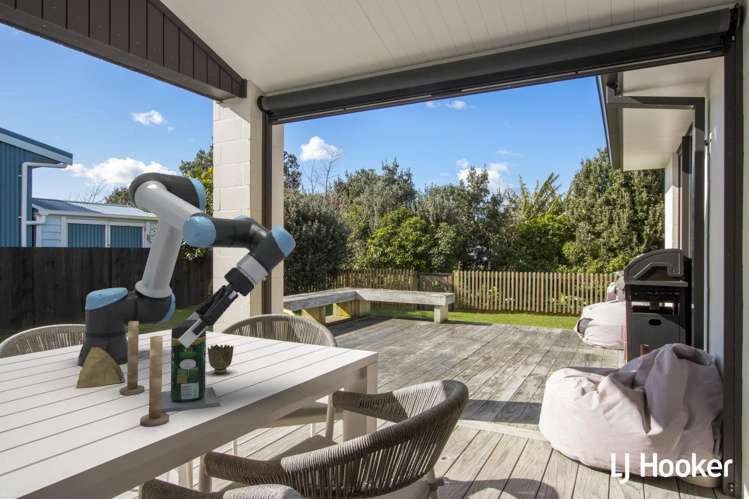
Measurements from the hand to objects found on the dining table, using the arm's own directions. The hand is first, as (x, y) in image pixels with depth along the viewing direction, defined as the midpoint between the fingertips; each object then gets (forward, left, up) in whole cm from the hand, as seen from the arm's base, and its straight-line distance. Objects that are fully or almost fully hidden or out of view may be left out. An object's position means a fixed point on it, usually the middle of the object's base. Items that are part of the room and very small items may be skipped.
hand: (180, 338), depth 115 cm
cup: (-1, +27, -15) cm, 31 cm away
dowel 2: (+2, -14, -15) cm, 20 cm away
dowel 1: (-15, +5, -15) cm, 22 cm away
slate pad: (+2, +1, -15) cm, 15 cm away
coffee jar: (+2, +1, -14) cm, 15 cm away
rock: (-27, +11, -15) cm, 33 cm away
